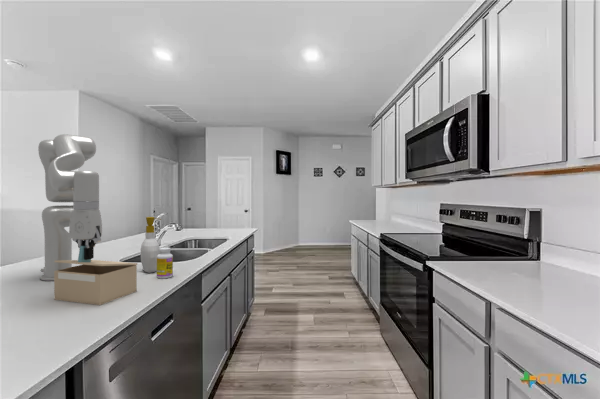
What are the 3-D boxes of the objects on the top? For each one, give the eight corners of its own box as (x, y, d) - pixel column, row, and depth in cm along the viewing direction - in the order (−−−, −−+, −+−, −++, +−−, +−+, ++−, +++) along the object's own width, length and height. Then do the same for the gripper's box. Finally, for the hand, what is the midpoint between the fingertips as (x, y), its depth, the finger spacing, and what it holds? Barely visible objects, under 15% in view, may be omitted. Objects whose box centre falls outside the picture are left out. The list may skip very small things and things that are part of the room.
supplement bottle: (166, 279, 139) (166, 250, 139) (153, 278, 141) (153, 249, 140) (175, 275, 146) (175, 247, 146) (162, 274, 147) (162, 246, 147)
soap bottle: (164, 272, 151) (164, 217, 151) (143, 275, 146) (143, 218, 146) (158, 266, 163) (158, 215, 163) (138, 269, 158) (138, 216, 158)
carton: (53, 299, 112) (53, 271, 112) (94, 286, 127) (94, 261, 127) (99, 305, 106) (99, 275, 106) (136, 291, 122) (136, 265, 122)
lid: (54, 262, 112) (57, 244, 113) (94, 261, 127) (96, 246, 128) (101, 266, 107) (104, 247, 108) (137, 264, 122) (139, 248, 123)
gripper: (59, 206, 111) (59, 259, 111) (94, 207, 107) (94, 262, 107) (79, 205, 118) (79, 255, 118) (113, 206, 114) (113, 258, 114)
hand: (86, 258), depth 113 cm, fingers closed
